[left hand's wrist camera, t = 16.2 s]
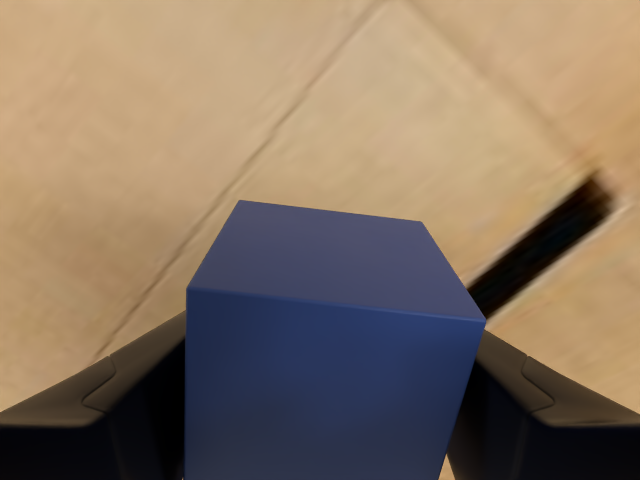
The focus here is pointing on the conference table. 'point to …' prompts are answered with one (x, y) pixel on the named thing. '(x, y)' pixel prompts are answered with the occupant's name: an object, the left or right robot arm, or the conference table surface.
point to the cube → (324, 349)
